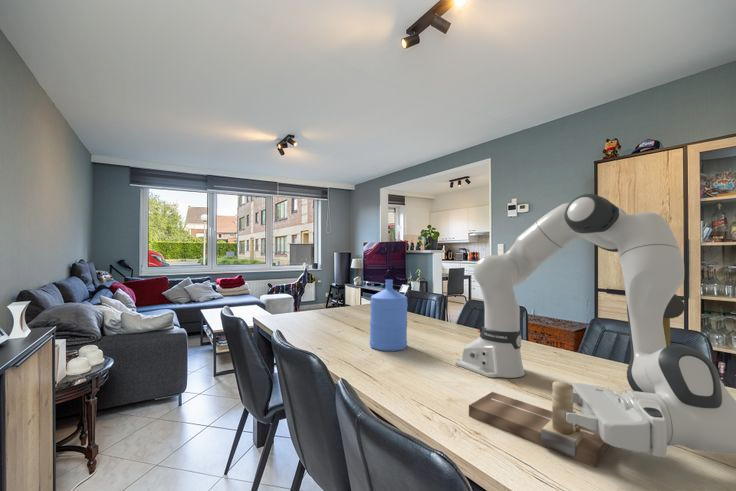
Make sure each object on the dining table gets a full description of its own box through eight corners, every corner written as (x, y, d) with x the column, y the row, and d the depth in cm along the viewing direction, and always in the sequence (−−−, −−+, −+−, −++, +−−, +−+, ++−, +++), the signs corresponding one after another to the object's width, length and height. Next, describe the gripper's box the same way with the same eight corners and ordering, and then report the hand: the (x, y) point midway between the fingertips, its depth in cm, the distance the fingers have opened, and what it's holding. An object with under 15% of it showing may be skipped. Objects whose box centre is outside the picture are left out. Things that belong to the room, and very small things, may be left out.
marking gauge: (540, 442, 67) (541, 384, 68) (550, 432, 71) (550, 377, 72) (574, 456, 63) (574, 394, 63) (583, 444, 67) (583, 386, 67)
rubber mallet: (688, 409, 85) (687, 292, 86) (650, 402, 90) (649, 290, 90) (677, 393, 96) (676, 289, 96) (643, 387, 100) (643, 287, 101)
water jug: (408, 352, 132) (409, 281, 132) (369, 351, 132) (370, 280, 132) (405, 341, 147) (405, 278, 148) (369, 341, 147) (370, 277, 148)
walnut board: (468, 415, 80) (468, 404, 80) (492, 401, 88) (492, 391, 89) (596, 467, 61) (596, 453, 61) (610, 442, 70) (610, 430, 70)
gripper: (616, 380, 74) (547, 372, 78) (670, 425, 54) (574, 412, 58) (616, 408, 74) (547, 399, 78) (670, 464, 54) (574, 448, 58)
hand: (559, 405), depth 68 cm, fingers open, 8 cm apart
